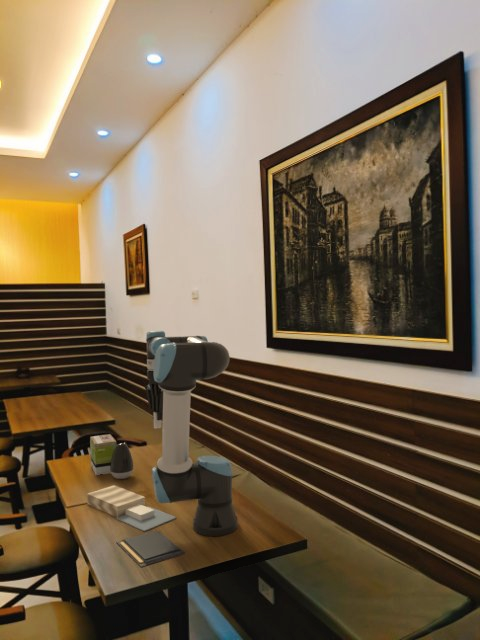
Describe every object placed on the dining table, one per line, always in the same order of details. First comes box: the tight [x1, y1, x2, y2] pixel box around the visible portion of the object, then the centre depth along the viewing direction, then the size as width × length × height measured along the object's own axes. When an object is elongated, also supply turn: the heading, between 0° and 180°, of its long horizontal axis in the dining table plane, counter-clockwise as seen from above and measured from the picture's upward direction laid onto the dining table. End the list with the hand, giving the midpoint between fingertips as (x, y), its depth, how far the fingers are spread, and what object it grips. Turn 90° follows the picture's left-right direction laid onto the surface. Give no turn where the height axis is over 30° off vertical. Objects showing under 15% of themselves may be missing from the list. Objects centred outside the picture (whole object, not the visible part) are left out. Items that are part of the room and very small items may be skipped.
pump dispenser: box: [110, 441, 135, 480], centre depth 223 cm, size 10×10×15 cm
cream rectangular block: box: [125, 504, 154, 521], centre depth 181 cm, size 9×6×2 cm, turn 48°
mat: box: [115, 506, 177, 533], centre depth 178 cm, size 16×14×1 cm
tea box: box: [89, 433, 118, 476], centre depth 235 cm, size 15×10×15 cm
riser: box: [86, 485, 146, 518], centre depth 191 cm, size 20×12×4 cm, turn 48°
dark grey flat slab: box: [115, 530, 186, 569], centre depth 156 cm, size 20×2×15 cm
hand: (157, 427), depth 203 cm, fingers closed
